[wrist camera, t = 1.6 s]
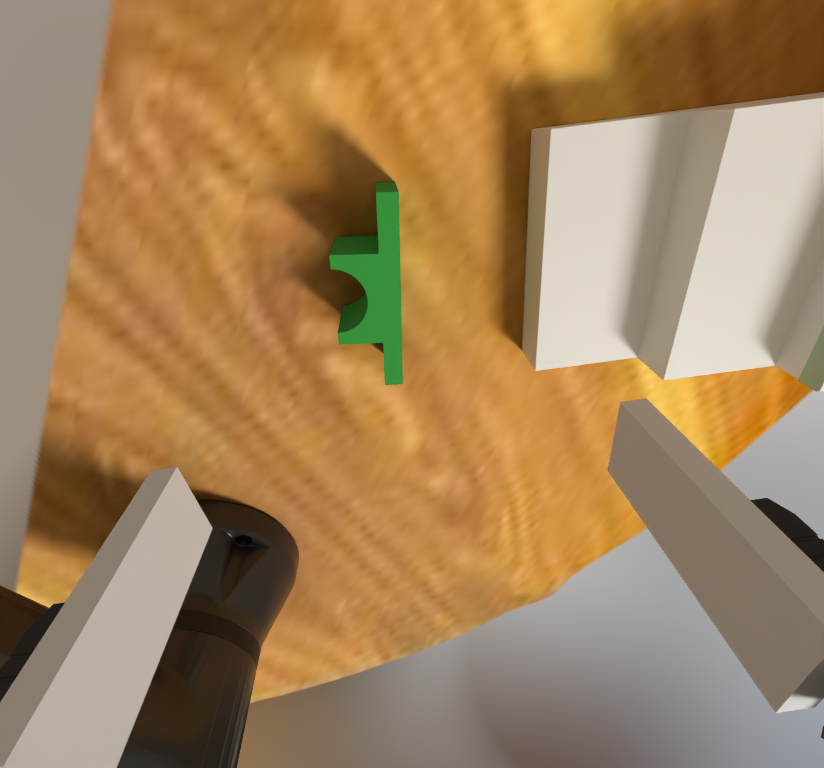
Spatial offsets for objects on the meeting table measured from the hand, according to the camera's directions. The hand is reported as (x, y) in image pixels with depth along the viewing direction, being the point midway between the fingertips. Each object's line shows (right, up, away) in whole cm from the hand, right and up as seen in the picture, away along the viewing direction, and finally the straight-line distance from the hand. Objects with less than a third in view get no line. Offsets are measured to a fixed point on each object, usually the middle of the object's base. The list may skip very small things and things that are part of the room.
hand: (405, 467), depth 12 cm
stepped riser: (+19, +12, +14) cm, 27 cm away
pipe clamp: (-3, +10, +14) cm, 17 cm away
